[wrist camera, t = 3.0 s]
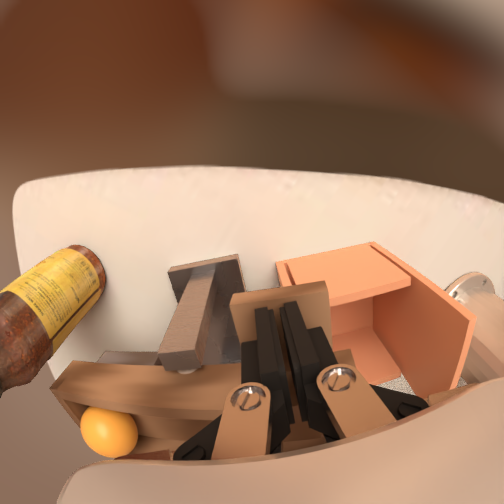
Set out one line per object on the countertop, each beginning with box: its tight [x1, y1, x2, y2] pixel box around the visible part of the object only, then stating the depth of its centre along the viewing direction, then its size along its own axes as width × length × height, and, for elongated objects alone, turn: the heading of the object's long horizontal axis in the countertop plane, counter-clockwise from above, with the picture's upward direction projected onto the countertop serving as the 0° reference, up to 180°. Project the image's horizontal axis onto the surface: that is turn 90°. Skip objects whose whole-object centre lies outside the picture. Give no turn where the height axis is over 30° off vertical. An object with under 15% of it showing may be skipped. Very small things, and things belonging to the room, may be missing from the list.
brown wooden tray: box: [50, 280, 356, 459], centre depth 14 cm, size 18×12×6 cm, turn 101°
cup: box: [276, 242, 477, 399], centre depth 18 cm, size 9×9×14 cm
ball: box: [80, 406, 138, 458], centre depth 13 cm, size 4×4×4 cm
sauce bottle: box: [0, 245, 106, 398], centre depth 14 cm, size 6×6×20 cm
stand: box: [157, 254, 246, 371], centre depth 20 cm, size 6×12×12 cm, turn 11°
